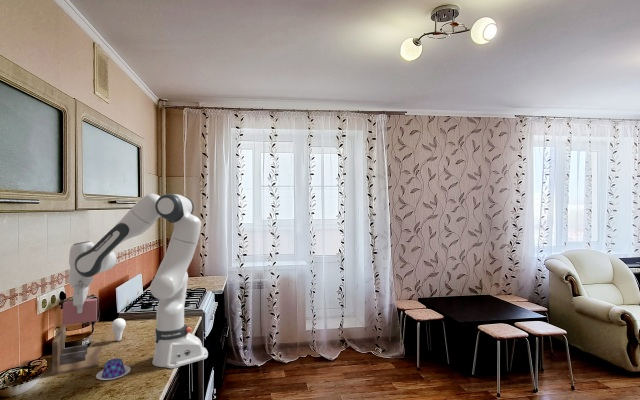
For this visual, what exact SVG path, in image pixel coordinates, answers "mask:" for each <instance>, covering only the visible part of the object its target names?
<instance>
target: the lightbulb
mask: <svg viewBox="0 0 640 400" xmlns="http://www.w3.org/2000/svg"><path fill="white" fill-rule="evenodd" d="M126 325H127V323H126V320H125V319H124V318H121V317H120V318H119V317H118V318H116V319H114V320H113V321H112V323H111V329H112V330H113V331H114V332H113V333H114V336H115V341H117V342H119V341H121V340H122V338H123V337H122V336H123V332H124V329H125V328H126Z"/></svg>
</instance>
